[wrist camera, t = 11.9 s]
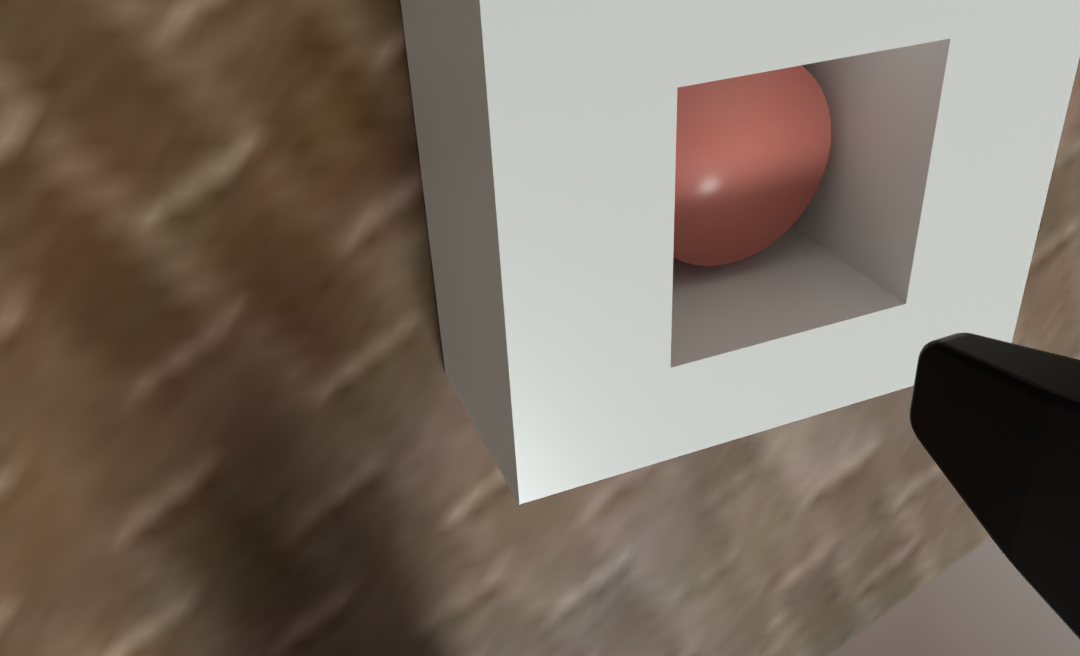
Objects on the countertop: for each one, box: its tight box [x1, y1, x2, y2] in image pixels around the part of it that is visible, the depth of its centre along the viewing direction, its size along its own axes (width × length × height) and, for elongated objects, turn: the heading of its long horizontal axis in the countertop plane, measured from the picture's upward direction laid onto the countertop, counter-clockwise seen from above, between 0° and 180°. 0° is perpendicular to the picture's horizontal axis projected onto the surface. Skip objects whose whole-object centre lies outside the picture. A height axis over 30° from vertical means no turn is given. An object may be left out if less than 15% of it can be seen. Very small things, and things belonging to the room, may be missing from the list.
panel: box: [400, 0, 1080, 504], centre depth 20 cm, size 12×10×5 cm
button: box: [673, 65, 831, 266], centre depth 21 cm, size 5×5×2 cm
